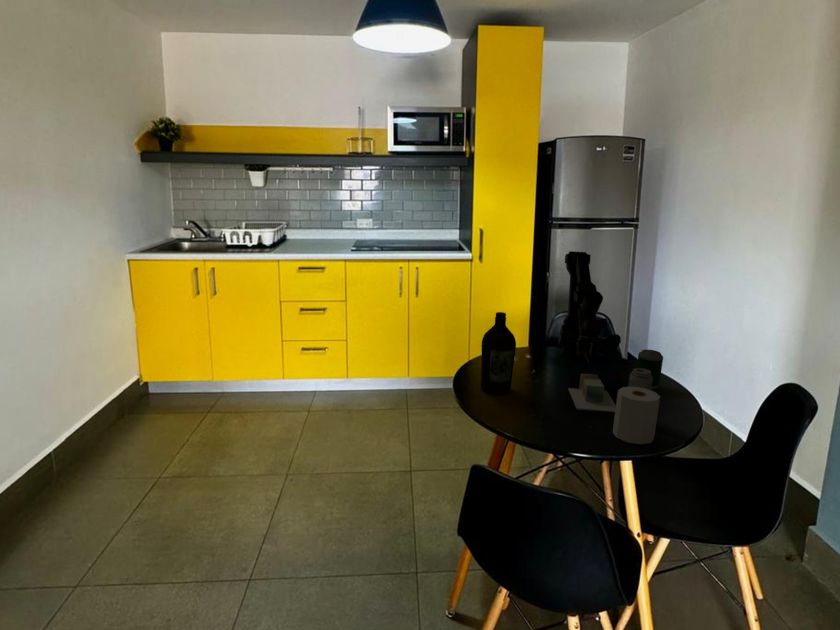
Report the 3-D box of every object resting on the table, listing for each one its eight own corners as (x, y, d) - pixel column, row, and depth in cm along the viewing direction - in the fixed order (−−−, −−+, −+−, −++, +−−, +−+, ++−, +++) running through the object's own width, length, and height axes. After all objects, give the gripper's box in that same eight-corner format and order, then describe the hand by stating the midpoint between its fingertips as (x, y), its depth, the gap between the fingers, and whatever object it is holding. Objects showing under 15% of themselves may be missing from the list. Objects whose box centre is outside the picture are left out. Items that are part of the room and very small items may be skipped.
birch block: (580, 373, 183) (587, 385, 172) (596, 374, 183) (604, 386, 172) (579, 387, 184) (585, 401, 174) (595, 388, 184) (602, 402, 173)
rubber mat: (568, 389, 184) (568, 388, 184) (606, 391, 183) (606, 390, 183) (576, 409, 168) (577, 408, 168) (618, 412, 167) (618, 411, 167)
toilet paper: (605, 428, 157) (610, 387, 154) (639, 426, 159) (644, 385, 156) (626, 446, 147) (632, 402, 144) (661, 443, 149) (668, 399, 146)
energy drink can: (641, 427, 158) (649, 376, 154) (620, 420, 162) (627, 370, 158) (649, 420, 162) (656, 371, 159) (628, 414, 166) (635, 365, 162)
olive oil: (475, 383, 186) (479, 309, 180) (507, 383, 187) (512, 309, 181) (483, 396, 176) (488, 317, 169) (516, 395, 177) (523, 317, 171)
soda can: (662, 391, 185) (667, 356, 182) (638, 390, 185) (643, 355, 182) (653, 383, 192) (658, 349, 189) (631, 382, 192) (635, 348, 189)
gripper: (563, 306, 183) (565, 350, 175) (623, 310, 181) (627, 354, 173) (557, 324, 192) (559, 366, 184) (614, 327, 191) (618, 370, 183)
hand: (590, 364), depth 181 cm, fingers closed
